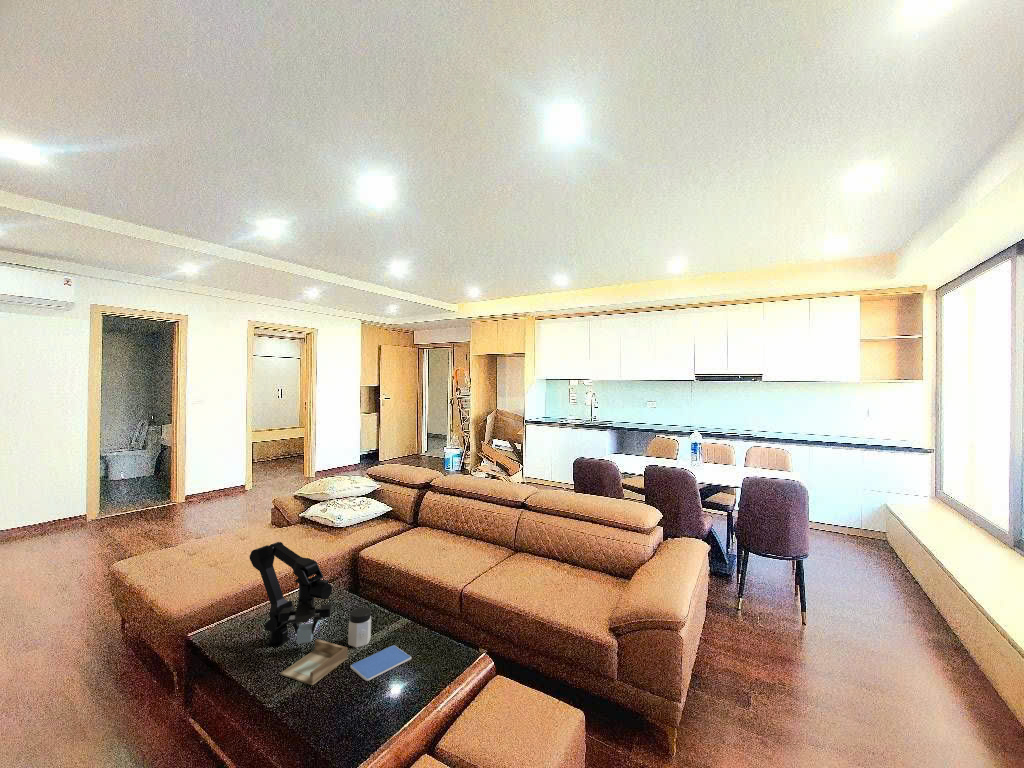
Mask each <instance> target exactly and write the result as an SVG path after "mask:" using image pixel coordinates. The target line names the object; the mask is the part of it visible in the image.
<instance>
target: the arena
mask: <svg viewBox="0 0 1024 768" xmlns="http://www.w3.org/2000/svg"><path fill="white" fill-rule="evenodd" d="M348 649H349V648H348V647H347V646H343V645H339V644H336V643H332V642H330V641H327V640H326V641H325V640H322V639H318V638H317V639H315V640H314V650H312V651H311V652H309V653H308V654H306V655H305V656H303V657H302V658H299V660H297V661H296V662H294V663H293V664H292V665H290V666H289V667H287V668H286V669H284V670H282V671H281V672H280V676H284V677H287V678H290V679H291V680H292V679H293V680H295V681H298V682H301V683H304V684H306V685H310V686H314V685H315V684H316V683H318V682H319V681H320V680H321V679H323V678H324V677H325V676H327V675H328V674H329V673H330V672H332V671H333V670H335V669H336V668H337V667H338V666H340V665H341V664H342V663H343V662H345V661H346V660H347V659H348Z"/></svg>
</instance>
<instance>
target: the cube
mask: <svg viewBox="0 0 1024 768" xmlns="http://www.w3.org/2000/svg"><path fill="white" fill-rule="evenodd" d="M312 627H313V622H309V623H308V622H306V623H301V624H300V623H299V628H298V630H297V634H296V644H297V645H298V644H306V643H307V644H308V643H311V642H312V639H313V637H314V633H313V634H312Z"/></svg>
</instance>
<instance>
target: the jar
mask: <svg viewBox="0 0 1024 768" xmlns="http://www.w3.org/2000/svg"><path fill="white" fill-rule="evenodd" d="M371 612H372V611H371V609H370V608H368V607H358V608H357V607H356V608H354V609H352V610H351V611H350V613H349V620H348V635H347V637H348V638H347V644H348V645H347V646H351V647H354V648H360V647H364V646H366V645H367V646H368V644H369V642H370V640H371V638H372V637H371V636H372V635H371V633H372V615H371Z"/></svg>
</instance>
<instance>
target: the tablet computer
mask: <svg viewBox="0 0 1024 768" xmlns="http://www.w3.org/2000/svg"><path fill="white" fill-rule="evenodd" d="M411 660H412V656H411V655H410V654H407V653H406V652H405V651H404V650H402V649H401V648H399V647H398V646H397V645H394V644H393V645H390V646H389V647H386V648H384V649H382V650H380V651H378V652H375V653H374V654H371V655H370V656H367V657H365V658H363V659H360V660H359V661H356V662H354V663H352V664H351V665H349V666H350V667H349V668H350V669H351V670H352V671H353V672H354V673H356V674H357V675H358V676H359V677H360V678H361V679H362V680H364V681H365V682H369V681H371V680H373V679H375V678H376V677H379V676H380V675H382V674H384V673H387V672H388V671H390V670H392V669H394V668H396V667H398V666H400V665H402V664H404V663H406V662H409V661H411Z"/></svg>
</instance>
